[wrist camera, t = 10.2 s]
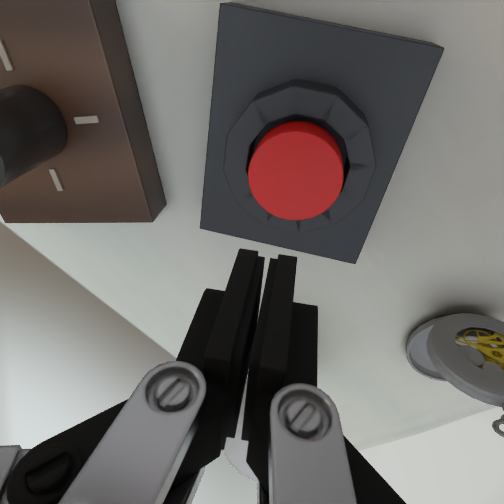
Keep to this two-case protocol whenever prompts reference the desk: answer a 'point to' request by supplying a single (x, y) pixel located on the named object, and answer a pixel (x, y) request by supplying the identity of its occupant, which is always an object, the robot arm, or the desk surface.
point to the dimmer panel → (79, 115)
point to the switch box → (309, 119)
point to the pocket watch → (462, 355)
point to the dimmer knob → (27, 131)
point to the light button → (296, 170)
